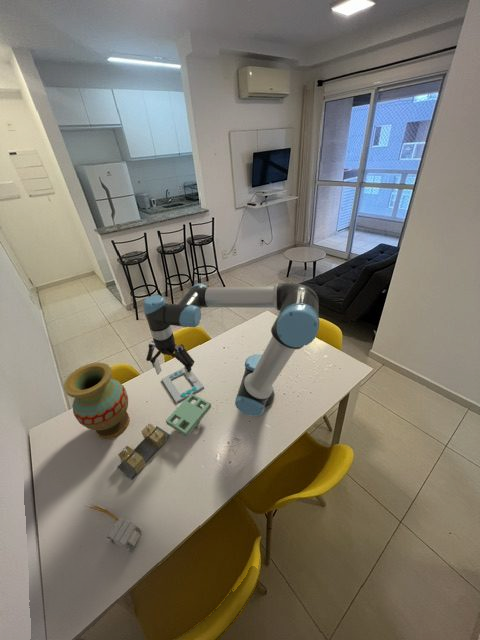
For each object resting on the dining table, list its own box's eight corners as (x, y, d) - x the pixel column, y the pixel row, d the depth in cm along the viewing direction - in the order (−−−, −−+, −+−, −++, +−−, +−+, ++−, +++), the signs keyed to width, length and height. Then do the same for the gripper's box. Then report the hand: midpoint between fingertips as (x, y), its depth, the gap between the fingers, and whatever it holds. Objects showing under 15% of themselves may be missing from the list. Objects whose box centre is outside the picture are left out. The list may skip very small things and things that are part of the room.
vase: (145, 411, 119) (126, 364, 102) (116, 452, 104) (87, 405, 86) (111, 401, 125) (88, 355, 107) (78, 438, 109) (45, 391, 92)
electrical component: (81, 526, 87) (73, 519, 84) (95, 506, 91) (87, 499, 89) (133, 554, 76) (125, 547, 74) (146, 530, 81) (139, 523, 78)
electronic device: (161, 378, 133) (187, 365, 140) (162, 381, 135) (188, 368, 142) (176, 401, 121) (203, 385, 128) (176, 404, 122) (204, 388, 129)
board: (211, 407, 112) (210, 403, 111) (186, 436, 101) (185, 433, 100) (192, 396, 117) (191, 393, 116) (166, 424, 106) (165, 420, 105)
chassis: (171, 436, 108) (167, 425, 104) (132, 480, 94) (126, 470, 90) (156, 426, 112) (152, 415, 108) (117, 467, 99) (110, 456, 94)
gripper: (197, 331, 97) (204, 371, 109) (138, 325, 102) (151, 364, 114) (189, 344, 91) (198, 385, 103) (127, 337, 96) (142, 377, 108)
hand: (173, 374), depth 109 cm, fingers open, 13 cm apart
